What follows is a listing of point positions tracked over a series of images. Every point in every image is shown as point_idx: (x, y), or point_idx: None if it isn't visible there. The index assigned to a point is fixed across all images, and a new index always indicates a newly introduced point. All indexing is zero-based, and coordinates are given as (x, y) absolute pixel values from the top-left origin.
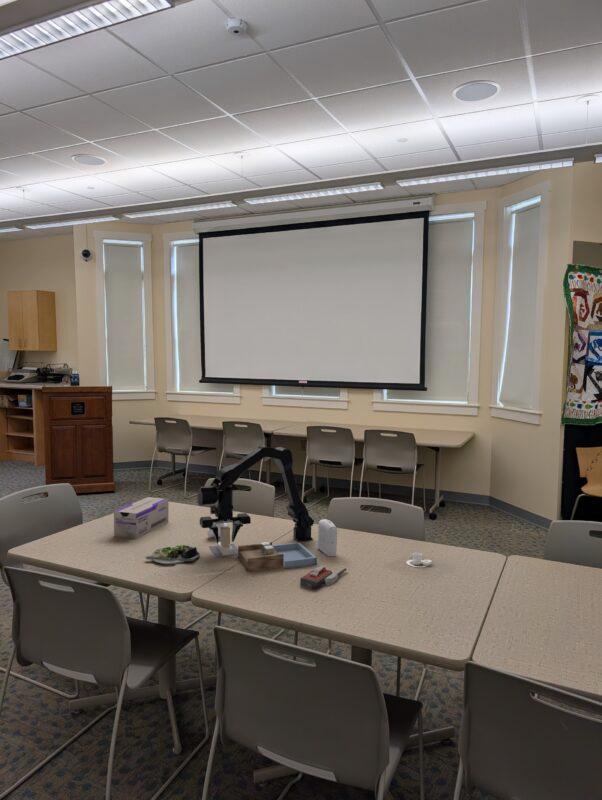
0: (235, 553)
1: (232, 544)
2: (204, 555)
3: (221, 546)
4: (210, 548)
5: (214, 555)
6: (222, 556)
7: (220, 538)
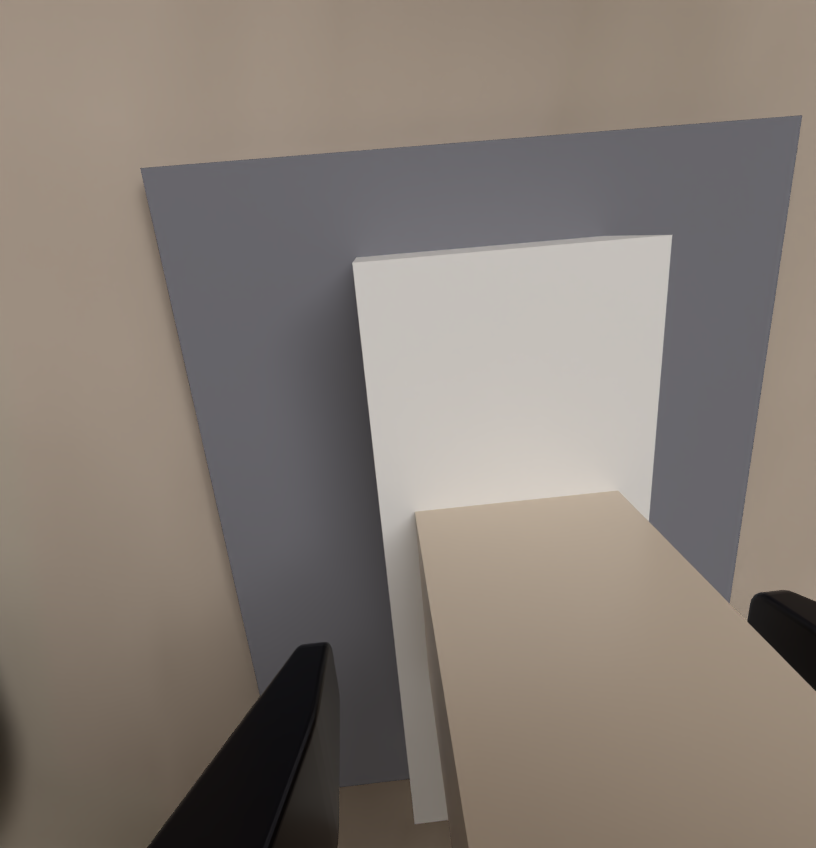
0: None
1: (760, 151)
2: (85, 615)
3: (420, 631)
4: (190, 321)
5: None
6: (393, 763)
7: (434, 643)
